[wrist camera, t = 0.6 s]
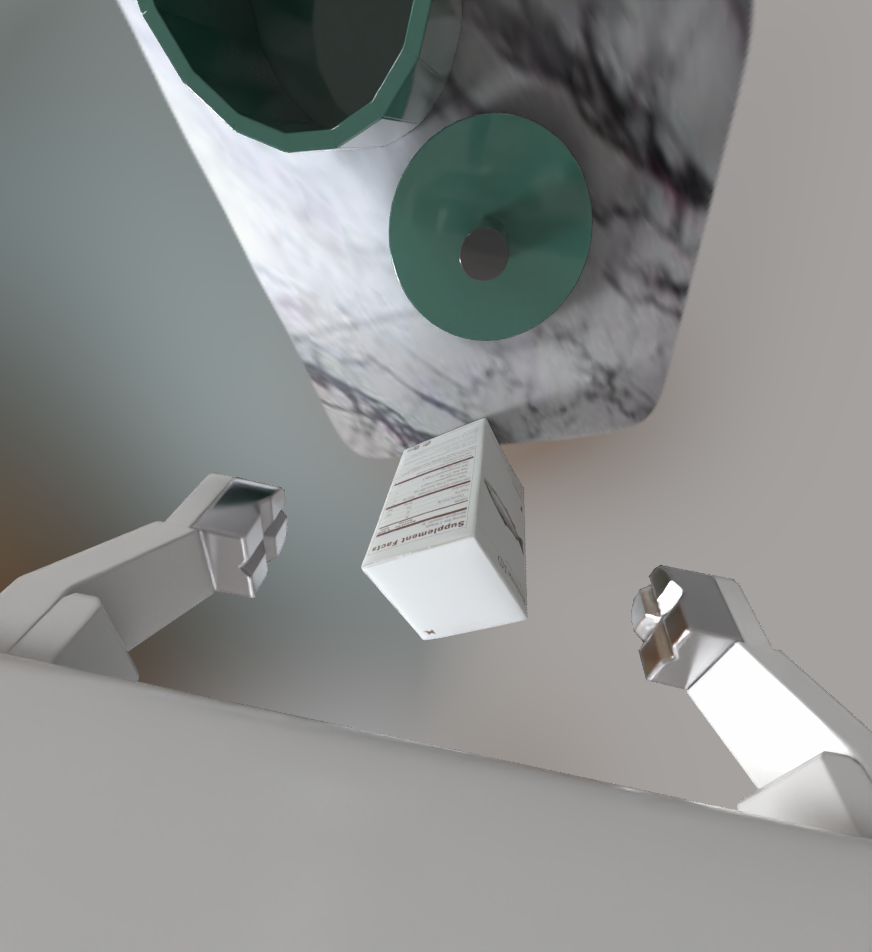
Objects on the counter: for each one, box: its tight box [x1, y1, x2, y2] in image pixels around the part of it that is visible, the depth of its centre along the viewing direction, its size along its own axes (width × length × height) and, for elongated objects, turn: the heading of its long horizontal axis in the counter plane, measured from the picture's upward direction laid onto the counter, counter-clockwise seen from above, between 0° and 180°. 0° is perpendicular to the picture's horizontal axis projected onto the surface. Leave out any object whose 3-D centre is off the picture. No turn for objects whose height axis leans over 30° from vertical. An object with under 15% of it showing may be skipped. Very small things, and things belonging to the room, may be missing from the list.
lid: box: [389, 113, 592, 341], centre depth 23 cm, size 11×11×5 cm
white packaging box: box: [361, 418, 528, 640], centre depth 30 cm, size 7×7×13 cm
